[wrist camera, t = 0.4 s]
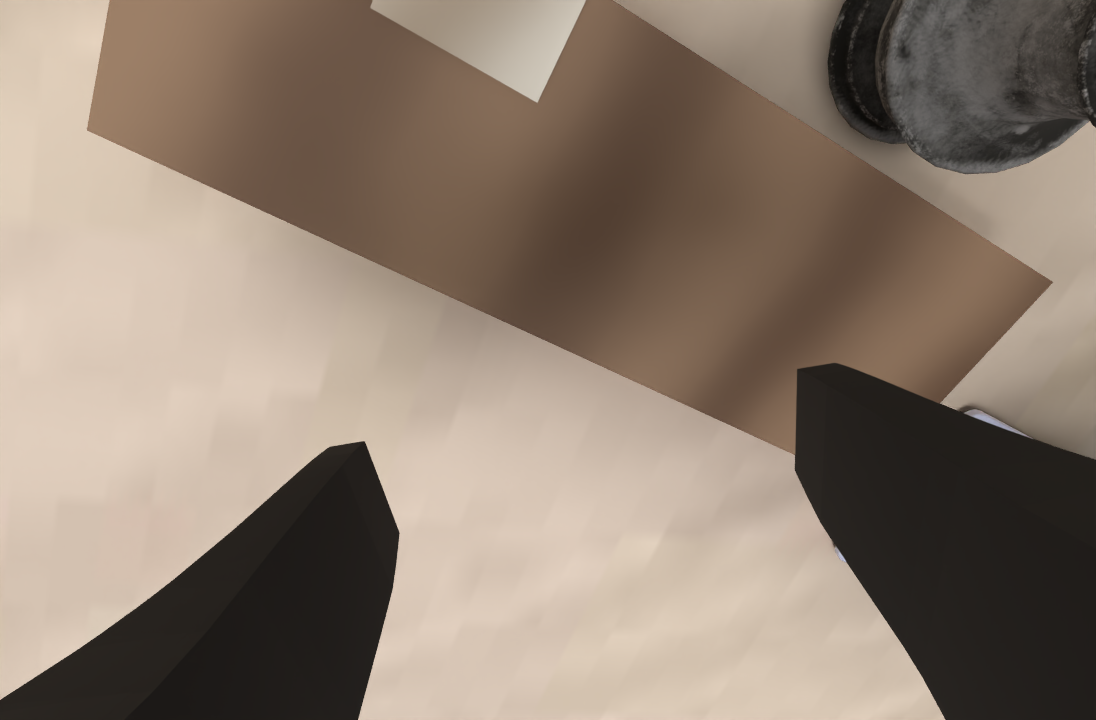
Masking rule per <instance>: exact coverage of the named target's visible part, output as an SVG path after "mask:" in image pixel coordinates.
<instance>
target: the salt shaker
mask: <svg viewBox="0 0 1096 720" xmlns="http://www.w3.org/2000/svg"><path fill="white" fill-rule="evenodd" d="M828 70H829V83H830V89H831V92H832V95H833V97H834V100H835V103H836V106H837V108H838V110H839V111H840V113H841V114H842V115H843V117H844V118H845V119H846V121H847V122H848V123H849V124H850V126H851V127H853V128H854V129H856V130H857V131H859V132H860V133H862V134H863V135H865V136H866V137H868V138H870V139H874V140H878V141H882V142H886V143H890V144H902V143H907V144H908V146H909V147H910V148H911V150H912V151H913V152H914V153H916V154H917V155H919V156H920V157H922V158H923V159H925V160H926V161H928V162H929V163H931V164H932V165H934V166H935V167H939V168H943V169H947V170H951V171H955V172H959V173H963V174H979V173H997V172H1000V171H1003V170H1006V169H1010V168H1013V167H1016V166H1020V165H1023V164H1026V163H1029V162H1031V161H1032V160H1034V159H1036V158H1038V157H1040V156H1041V155H1043V154H1045V153H1047V152H1049V151H1050V150H1052V149H1054V148H1056V147H1058V146H1060V145H1061V144H1062V143H1063V142H1065V141H1066V140H1067V139H1068V138H1069V137H1071V136H1072V135H1073V134H1074V133H1075V132H1077V131H1078V130H1079V129H1080V128H1081V127H1083V126H1084V125H1085V124H1086V123H1088V122H1089V121H1091V123H1092V125H1093V126H1095V127H1096V0H846V1H845V3H844V4H843V7H842V9H841V12H840V14H839V17H838V20H837V22H836V25H835V27H834V30H833V33H832V38H831V44H830V50H829V57H828Z"/></svg>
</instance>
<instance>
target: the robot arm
mask: <svg viewBox="0 0 1096 720" xmlns="http://www.w3.org/2000/svg"><path fill="white" fill-rule="evenodd" d="M795 471H796V473H797V476H798V478H799V480H800V482H801V484H802V486H803V488H804V490H805V493H806V495H807V497H808V499H809V501H810V503H811V505H812V507H813V509H814V511H815V513H816V515H817V517H818V519H819V520H820V522H821V524H822V526H823V527H824V529H825V530H826V532H827V533H828V535H829V536H830V538H831V539H832V541H833V542H834V544H835V545H836V547H835V552H836V554H837V556H838V557H839V559H841V560H842V561H844V562H847V564H848V565H849V566H850V568H851V569H852V571H853V572H854V574H855V575H856V577H857V578H858V580H859V581H860V583H861V584H862V586H863V587H864V589H865V590H866V592H867V593H868V595H869V596H870V598H871V599H872V601H873V602H874V604H875V605H876V606H877V608H878V609H879V611H880V612H881V614H882V615H883V617H884V618H885V620H886V621H887V623H888V624H889V626H890V627H891V629H892V630H893V632H894V633H895V635H896V636H897V638H898V639H899V641H900V642H901V644H902V645H903V647H904V648H905V650H906V651H907V653H908V655H909V656H910V658H911V659H912V661H913V663H914V664H915V666H916V668H917V669H918V671H919V672H920V674H921V676H922V677H923V679H924V681H925V683H926V685H927V686H928V688H929V690H930V692H931V694H932V696H933V697H934V699H935V701H936V703H937V705H938V707H939V708H940V710H941V712H942V714H943V716H944V718H945V719H946V720H1096V460H1095V459H1091V458H1088V457H1085V456H1082V455H1079V454H1076V453H1073V452H1070V451H1066V450H1063V449H1060V448H1057V447H1054V446H1052V445H1049V444H1046V443H1043V442H1040V441H1037V440H1035V439H1033V438H1031V437H1029V436H1027V435H1025V434H1024V433H1022V432H1020V431H1018V430H1016V429H1014V428H1012V427H1010V426H1009V425H1007V424H1005V423H1003V422H1001V421H999V420H997V419H996V418H994V417H992V416H990V415H988V414H986V413H984V412H982V411H981V410H977V409H974V410H969V411H967V412H965V413H962V412H959V411H957V410H954V409H952V408H949V407H947V406H944V405H942V404H939V403H937V402H934V401H932V400H930V399H927V398H925V397H922V396H920V395H917V394H915V393H913V392H910V391H908V390H905V389H903V388H901V387H898V386H896V385H893V384H891V383H889V382H886V381H884V380H881V379H879V378H876V377H874V376H871V375H869V374H866V373H864V372H861V371H859V370H856V369H853V368H850V367H848V366H845V365H841V364H838V363H830V364H824V365H818V366H812V367H806V368H800V369H797V395H796V443H795ZM398 542H399V530H398V528H397V525H396V523H395V520H394V517H393V515H392V512H391V509H390V507H389V504H388V501H387V499H386V496H385V493H384V491H383V488H382V486H381V483H380V480H379V478H378V475H377V472H376V470H375V467H374V464H373V462H372V459H371V457H370V454H369V451H368V449H367V446H366V443H365V441H362V442H356V443H350V444H344V445H338V446H332V447H329V448H327V449H326V450H325V451H323V452H322V453H321V454H319V455H318V456H317V457H316V458H314V459H313V460H312V461H311V462H310V463H308V464H307V465H306V466H305V467H304V468H303V469H301V470H300V471H299V472H298V473H297V474H296V475H295V476H293V477H292V478H291V479H290V480H289V481H288V482H287V483H286V484H285V485H283V486H282V487H281V488H280V489H279V490H278V491H277V492H276V493H274V494H273V495H272V496H271V497H270V498H269V499H268V500H267V501H265V502H264V503H263V504H262V505H261V506H260V507H259V508H258V509H256V510H255V511H254V512H253V513H252V514H251V515H250V516H249V517H247V518H246V519H245V520H244V521H243V522H242V523H241V524H240V525H238V526H237V527H236V528H235V529H234V530H233V531H232V532H230V533H229V534H228V535H227V536H226V537H224V538H223V539H222V540H221V541H220V542H218V543H217V544H216V545H215V546H214V547H212V548H211V549H210V550H209V551H208V552H206V553H205V554H204V555H203V556H201V557H200V558H199V559H198V560H197V561H195V562H194V563H193V564H192V565H191V566H189V567H188V568H187V569H186V570H185V571H183V572H182V573H181V574H180V575H179V576H177V577H176V578H175V579H174V580H172V581H171V582H170V583H169V584H167V585H166V586H165V587H164V588H162V589H161V590H160V591H158V592H157V593H156V594H154V595H153V596H152V597H151V598H149V599H148V600H147V601H145V602H144V603H143V604H141V605H140V606H139V607H137V608H136V609H135V610H133V611H132V612H130V613H129V614H128V615H126V616H125V617H123V618H122V619H121V620H119V621H118V622H116V623H115V624H114V625H112V626H111V627H110V628H108V629H107V630H105V631H104V632H103V633H101V634H100V635H98V636H97V637H96V638H94V639H93V640H91V641H90V642H88V643H87V644H85V645H84V646H83V647H81V648H80V649H78V650H77V651H75V652H74V653H72V654H70V655H69V656H67V657H66V658H64V659H63V660H61V661H60V662H58V663H57V664H55V665H54V666H52V667H50V668H49V669H47V670H46V671H44V672H43V673H41V674H40V675H38V676H37V677H35V678H33V679H32V680H30V681H29V682H27V683H26V684H24V685H23V686H21V687H20V688H18V689H16V690H15V691H13V692H12V693H10V694H9V695H7V696H6V697H4V698H3V699H1V700H0V720H358V718H359V714H360V710H361V706H362V703H363V699H364V695H365V692H366V688H367V684H368V680H369V677H370V673H371V669H372V666H373V662H374V658H375V654H376V651H377V647H378V643H379V640H380V636H381V632H382V628H383V624H384V621H385V617H386V613H387V609H388V605H389V601H390V597H391V593H392V589H393V582H394V575H395V568H396V560H397V551H398Z"/></svg>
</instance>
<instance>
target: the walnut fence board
mask: <svg viewBox="0 0 1096 720" xmlns="http://www.w3.org/2000/svg"><path fill="white" fill-rule="evenodd" d="M87 130H88V131H90V132H92V133H94V134H96V135H98V136H101V137H103V138H105V139H107V140H109V141H111V142H114V143H116V144H118V145H120V146H122V147H125V148H127V149H129V150H131V151H133V152H135V153H138V154H140V155H142V156H144V157H146V158H149V159H151V160H153V161H155V162H157V163H159V164H162V165H164V166H166V167H168V168H170V169H173V170H175V171H177V172H179V173H181V174H183V175H186V176H188V177H190V178H192V179H194V180H197V181H199V182H201V183H203V184H205V185H207V186H210V187H212V188H214V189H216V190H218V191H221V192H223V193H225V194H227V195H229V196H231V197H234V198H236V199H238V200H240V201H242V202H245V203H247V204H249V205H251V206H253V207H255V208H258V209H260V210H262V211H264V212H266V213H269V214H271V215H273V216H275V217H277V218H279V219H282V220H284V221H286V222H288V223H290V224H292V225H295V226H297V227H299V228H301V229H303V230H306V231H308V232H310V233H312V234H314V235H316V236H319V237H321V238H323V239H325V240H327V241H330V242H332V243H334V244H336V245H338V246H340V247H343V248H345V249H347V250H349V251H351V252H354V253H356V254H358V255H360V256H362V257H364V258H367V259H369V260H371V261H373V262H375V263H378V264H380V265H382V266H384V267H386V268H388V269H391V270H393V271H395V272H397V273H399V274H402V275H404V276H406V277H408V278H410V279H412V280H415V281H417V282H419V283H421V284H423V285H426V286H428V287H430V288H432V289H434V290H436V291H439V292H441V293H443V294H445V295H447V296H449V297H452V298H454V299H456V300H458V301H460V302H463V303H465V304H467V305H469V306H471V307H473V308H476V309H478V310H480V311H482V312H484V313H487V314H489V315H491V316H493V317H495V318H497V319H500V320H502V321H504V322H506V323H508V324H511V325H513V326H515V327H517V328H519V329H521V330H524V331H526V332H528V333H530V334H532V335H535V336H537V337H539V338H541V339H543V340H545V341H548V342H550V343H552V344H554V345H556V346H559V347H561V348H563V349H565V350H567V351H569V352H572V353H574V354H576V355H578V356H580V357H583V358H585V359H587V360H589V361H591V362H593V363H596V364H598V365H600V366H602V367H604V368H607V369H609V370H611V371H613V372H615V373H617V374H620V375H622V376H624V377H626V378H628V379H630V380H633V381H635V382H637V383H639V384H641V385H644V386H646V387H648V388H650V389H652V390H654V391H657V392H659V393H661V394H663V395H665V396H668V397H670V398H672V399H674V400H676V401H678V402H681V403H683V404H685V405H687V406H689V407H692V408H694V409H696V410H698V411H700V412H702V413H705V414H707V415H709V416H711V417H713V418H716V419H718V420H720V421H722V422H724V423H726V424H729V425H731V426H733V427H735V428H737V429H740V430H742V431H744V432H746V433H748V434H750V435H753V436H755V437H757V438H759V439H761V440H764V441H766V442H768V443H770V444H772V445H774V446H777V447H779V448H781V449H783V450H785V451H787V452H790V453H792V454H794V455H795V443H796V395H797V369H800V368H806V367H812V366H818V365H824V364H830V363H838V364H841V365H845V366H848V367H850V368H853V369H856V370H859V371H861V372H864V373H866V374H869V375H871V376H874V377H876V378H879V379H881V380H884V381H886V382H889V383H891V384H893V385H896V386H898V387H901V388H903V389H905V390H908V391H910V392H913V393H915V394H917V395H920V396H922V397H925V398H927V399H930V400H932V401H934V402H937V403H939V404H940V402H941V401H942V400H943V399H944V398H945V397H946V396H947V395H948V394H949V393H950V392H951V391H952V390H953V389H954V388H955V386H956V385H957V384H958V383H959V382H960V381H961V380H962V379H963V378H964V377H965V376H966V375H967V374H968V373H969V371H970V370H971V369H972V368H973V367H974V366H975V365H976V364H977V363H978V362H979V361H980V360H981V359H982V358H983V357H984V355H985V354H986V353H987V352H988V351H989V350H990V349H991V348H992V347H993V346H994V345H995V344H996V343H997V342H998V340H999V339H1000V338H1001V337H1002V336H1003V335H1004V334H1005V333H1006V332H1007V331H1008V330H1009V329H1010V328H1011V327H1012V326H1013V324H1014V323H1015V322H1016V321H1017V320H1018V319H1019V318H1020V317H1021V316H1022V315H1023V314H1024V313H1025V312H1026V311H1027V309H1028V308H1029V307H1030V306H1031V305H1032V304H1033V303H1034V302H1035V301H1036V300H1037V299H1038V298H1039V297H1040V296H1041V295H1042V293H1043V292H1044V291H1045V290H1046V289H1047V288H1048V287H1049V286H1050V285H1051V284H1052V283H1053V282H1052V281H1050V280H1049V279H1047V278H1046V277H1044V276H1043V275H1041V274H1039V273H1038V272H1036V271H1035V270H1033V269H1032V268H1030V267H1029V266H1027V265H1025V264H1024V263H1022V262H1021V261H1019V260H1018V259H1016V258H1014V257H1013V256H1011V255H1010V254H1008V253H1007V252H1005V251H1004V250H1002V249H1000V248H999V247H997V246H996V245H994V244H993V243H991V242H989V241H988V240H986V239H985V238H983V237H982V236H980V235H979V234H977V233H975V232H974V231H972V230H971V229H969V228H968V227H966V226H964V225H963V224H961V223H960V222H958V221H957V220H955V219H953V218H952V217H950V216H949V215H947V214H946V213H944V212H943V211H941V210H939V209H938V208H936V207H935V206H933V205H932V204H930V203H928V202H927V201H925V200H924V199H922V198H921V197H919V196H918V195H916V194H914V193H913V192H911V191H910V190H908V189H907V188H905V187H903V186H902V185H900V184H899V183H897V182H896V181H894V180H893V179H891V178H889V177H888V176H886V175H885V174H883V173H882V172H880V171H878V170H877V169H875V168H874V167H872V166H871V165H869V164H868V163H866V162H864V161H863V160H861V159H860V158H858V157H857V156H855V155H853V154H852V153H850V152H849V151H847V150H846V149H844V148H843V147H841V146H839V145H838V144H836V143H835V142H833V141H832V140H830V139H828V138H827V137H825V136H824V135H822V134H821V133H819V132H818V131H816V130H814V129H813V128H811V127H810V126H808V125H807V124H805V123H803V122H802V121H800V120H799V119H797V118H796V117H794V116H793V115H791V114H789V113H788V112H786V111H785V110H783V109H782V108H780V107H778V106H777V105H775V104H774V103H772V102H771V101H769V100H767V99H766V98H764V97H763V96H761V95H760V94H758V93H757V92H755V91H753V90H752V89H750V88H749V87H747V86H746V85H744V84H742V83H741V82H739V81H738V80H736V79H735V78H733V77H732V76H730V75H728V74H727V73H725V72H724V71H722V70H721V69H719V68H717V67H716V66H714V65H713V64H711V63H710V62H708V61H707V60H705V59H703V58H702V57H700V56H699V55H697V54H696V53H694V52H692V51H691V50H689V49H688V48H686V47H685V46H683V45H682V44H680V43H678V42H677V41H675V40H674V39H672V38H671V37H669V36H667V35H666V34H664V33H663V32H661V31H660V30H658V29H657V28H655V27H653V26H652V25H650V24H649V23H647V22H646V21H644V20H642V19H641V18H639V17H638V16H636V15H635V14H633V13H632V12H630V11H628V10H627V9H625V8H624V7H622V6H621V5H619V4H617V3H616V2H614V1H613V0H110V2H109V7H108V13H107V19H106V24H105V30H104V36H103V42H102V47H101V53H100V59H99V64H98V70H97V76H96V81H95V87H94V93H93V99H92V104H91V110H90V116H89V121H88V127H87Z"/></svg>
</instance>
